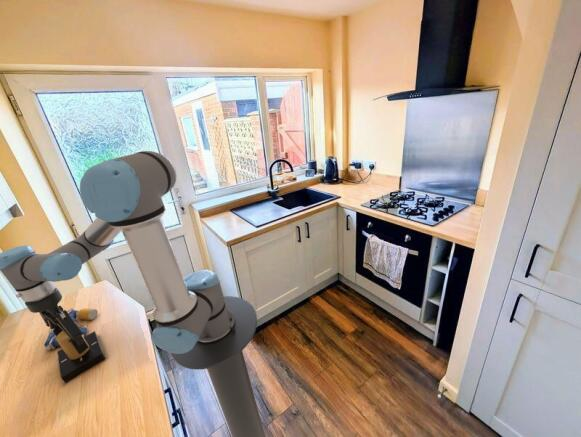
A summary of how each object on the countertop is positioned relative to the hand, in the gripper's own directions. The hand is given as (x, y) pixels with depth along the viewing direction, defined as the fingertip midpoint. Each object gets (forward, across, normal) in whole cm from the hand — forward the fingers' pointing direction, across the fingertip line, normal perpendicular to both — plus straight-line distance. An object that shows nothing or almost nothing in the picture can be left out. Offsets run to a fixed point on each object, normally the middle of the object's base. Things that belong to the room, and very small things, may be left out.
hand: (75, 345), depth 83 cm
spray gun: (+6, -19, +7) cm, 21 cm away
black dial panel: (+6, 0, 0) cm, 6 cm away
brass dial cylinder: (+3, 0, 0) cm, 3 cm away
